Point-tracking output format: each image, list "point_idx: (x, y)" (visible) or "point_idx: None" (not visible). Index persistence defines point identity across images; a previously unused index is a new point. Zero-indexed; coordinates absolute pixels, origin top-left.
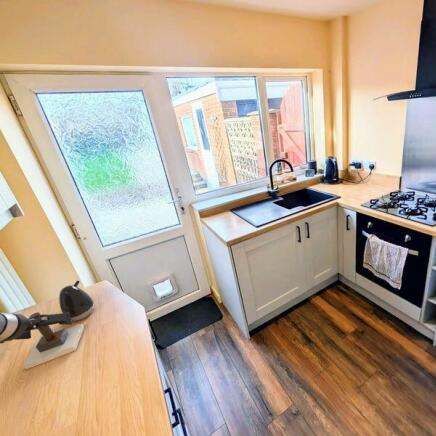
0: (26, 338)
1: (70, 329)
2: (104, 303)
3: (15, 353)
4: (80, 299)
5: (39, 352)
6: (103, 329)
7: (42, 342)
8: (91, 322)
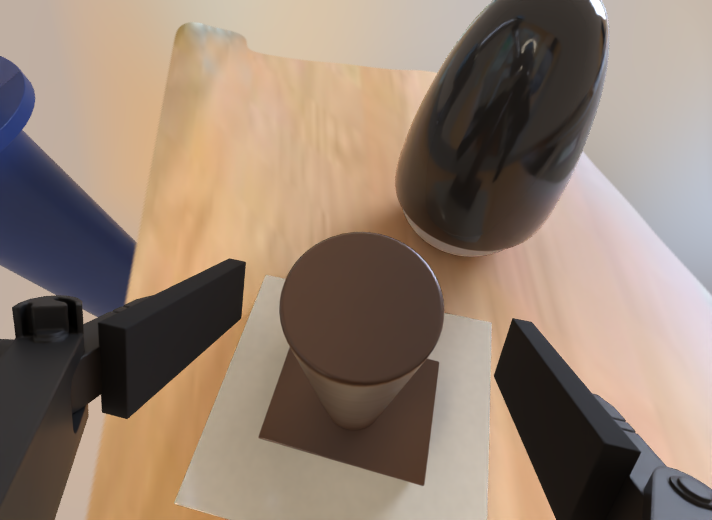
0: (212, 337)
1: None
2: None
3: (169, 279)
4: (569, 161)
5: None
6: None
7: (302, 417)
8: None
